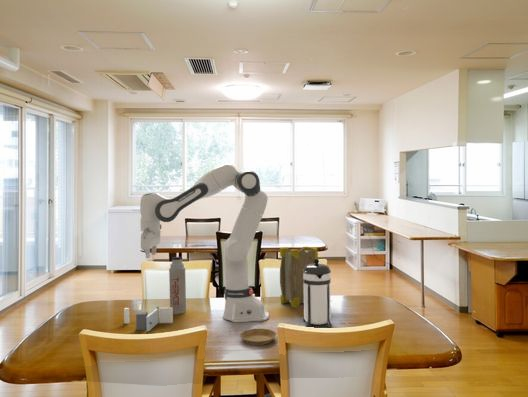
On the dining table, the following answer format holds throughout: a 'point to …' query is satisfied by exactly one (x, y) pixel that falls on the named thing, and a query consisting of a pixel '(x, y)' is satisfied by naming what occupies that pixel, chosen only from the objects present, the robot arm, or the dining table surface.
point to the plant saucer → (258, 336)
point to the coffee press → (317, 294)
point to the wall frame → (164, 314)
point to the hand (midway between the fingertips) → (150, 256)
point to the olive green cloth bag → (294, 273)
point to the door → (152, 319)
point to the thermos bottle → (177, 286)
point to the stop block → (141, 320)
